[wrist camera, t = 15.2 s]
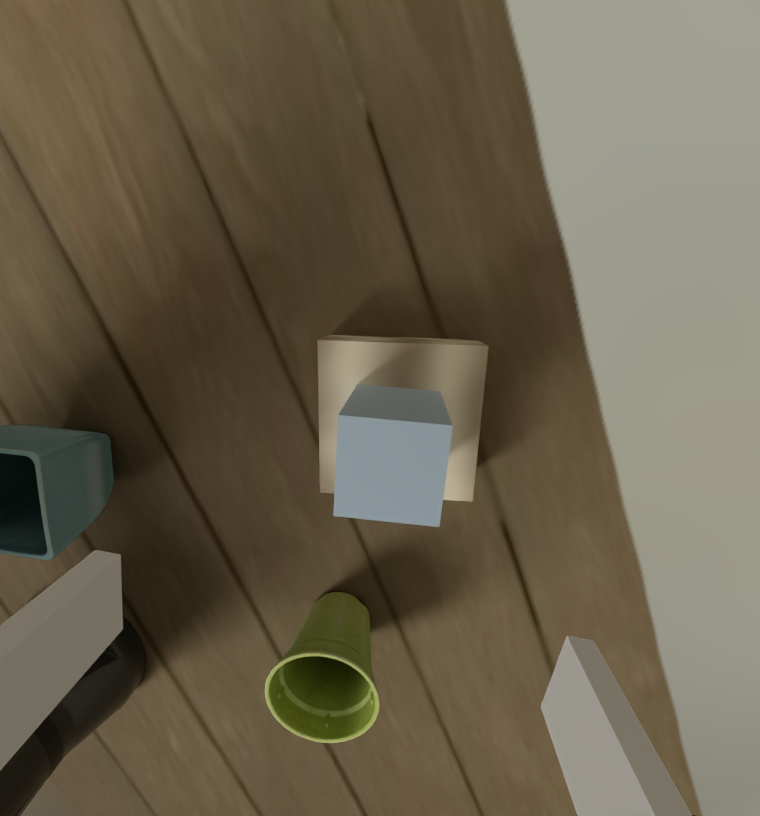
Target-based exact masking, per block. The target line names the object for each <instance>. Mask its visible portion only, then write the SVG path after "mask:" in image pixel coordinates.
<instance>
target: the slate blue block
mask: <svg viewBox="0 0 760 816" xmlns="http://www.w3.org/2000/svg"><path fill="white" fill-rule="evenodd" d="M452 428H453V425H452V422H451V419H450V417H449V414H448V411H447V408H446V406H445V403H444V400H443V398H442V395H441V392H440V391H432V390H421V389H410V388H398V387H387V386H376V385H364V384H357V385H356V387H355V389H354V390H353V392H352V393H351V395H350V397H349V398H348V400H347V401H346V403H345V405H344V406H343V408H342V410H341V411H340V413H339V414H338V428H337V449H336V471H335V492H334V513H333V516H339V517H348V518H358V519H367V520H377V521H386V522H396V523H405V524H415V525H424V526H434V527H439V526H440V518H441V511H442V503H443V496H444V488H445V481H446V473H447V466H448V458H449V451H450V443H451V436H452Z"/></svg>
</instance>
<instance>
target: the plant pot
mask: <svg viewBox="0 0 760 816" xmlns="http://www.w3.org/2000/svg"><path fill="white" fill-rule="evenodd" d="M265 697H266V701H267V705H268V707H269V709H270V711H271V712H272V714H273V715H274V717H275V718H276V719H277V720H278V721H279V722H280V723H281V724H282V725H283V726H284V727H285V728H286V729H288V730H289V731H291V732H292V733H294V734H296V735H298V736H301V737H303V738H306V739H309V740H312V741H316V742H323V743H338V742H344V741H347V740H351V739H353V738H356V737H358V736H360V735H362V734H363V733H365V732H366V731H367V730H368V729H369V728H370V727H371V726H372V725H373V723H374V722H375V720H376V718H377V716H378V712H379V706H380V699H379V693H378V689H377V687H376V684H375V683H374V677H373V674H372V668H371V642H370V616H369V612H368V610H367V608H366V606H364V605H363V604H362V603H360V602H359V600H358V599H357V598H356V597H355V596H353V595H350V594H348V593H343V592H332V593H328V594H325V595H324V596H322V597H321V598H320V599H319V600H317V601H316V602H315V603H314V604H313V606H312V608H311V610H310V612H309V613H308V615H307V617H306V619H305V621H304V623H303V625H302V627H301V629H300V631H299V633H298V635H297V637H296V639H295V641H294V643H293V645H292V646H291V648H290V650H289V651H288V652H287V653H286V654H285V656H284V657H283V659H282V660H280V661H279V662H278V663H277V664H276V665H275V666H274V667H273V669H272V670H271V672H270V673H269V675H268V678H267V680H266V684H265Z"/></svg>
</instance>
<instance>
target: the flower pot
mask: <svg viewBox="0 0 760 816" xmlns="http://www.w3.org/2000/svg"><path fill="white" fill-rule="evenodd" d="M113 484H114V474H113V464H112V452H111V441H110V437H109V436H108V435H107V434H103V433H98V432H89V431H80V430H72V429H64V428H56V427H48V426H39V425H2V426H0V554H6V555H13V556H19V557H26V558H33V559H40V560H52V559H53V558H54V557H55V556H57V555H58V554H59V553H60V552H61V551H62V550H63V549H64V548H66V547H67V546H68V545H69V544H70V543H71V542H72V541H73V540H74V539H76V538H77V537H78V536H79V535H80V534H81V533H82V532H83V531H84V530H85V529H87V528H88V527H89V526H90V525H91V524H92V523H93V522H94V521H95V520H96V519H97V517H98V516H99V515H100V514H101V512H102V511H103V509H104V508H105V506H106V504H107V502H108V499H109V497H110V494H111V491H112V488H113Z"/></svg>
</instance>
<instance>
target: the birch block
mask: <svg viewBox="0 0 760 816" xmlns="http://www.w3.org/2000/svg"><path fill="white" fill-rule="evenodd" d="M317 344H318V402H319V461H320V493H334V492H335V471H336V449H337V428H338V414H339V413H340V411H341V410H342V408H343V406H344V405H345V403H346V401H347V400H348V398H349V397H350V395H351V393H352V392H353V390H354V389H355V387H356V385H357V384H364V385H376V386H387V387H398V388H410V389H421V390H432V391H440V392H441V395H442V398H443V400H444V403H445V406H446V408H447V411H448V414H449V417H450V419H451V422H452V425H453V428H452V436H451V443H450V451H449V458H448V466H447V473H446V481H445V488H444V496H443V500H456V501H473V493H474V483H475V473H476V464H477V454H478V445H479V435H480V425H481V416H482V406H483V396H484V387H485V377H486V367H487V358H488V348H489V346H488V345H486V344H484V343H482V342H480V341H478V340H469V339H439V338H409V337H379V336H350V335H328V336H326V337H324V338H321V339H319V340H317Z"/></svg>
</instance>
